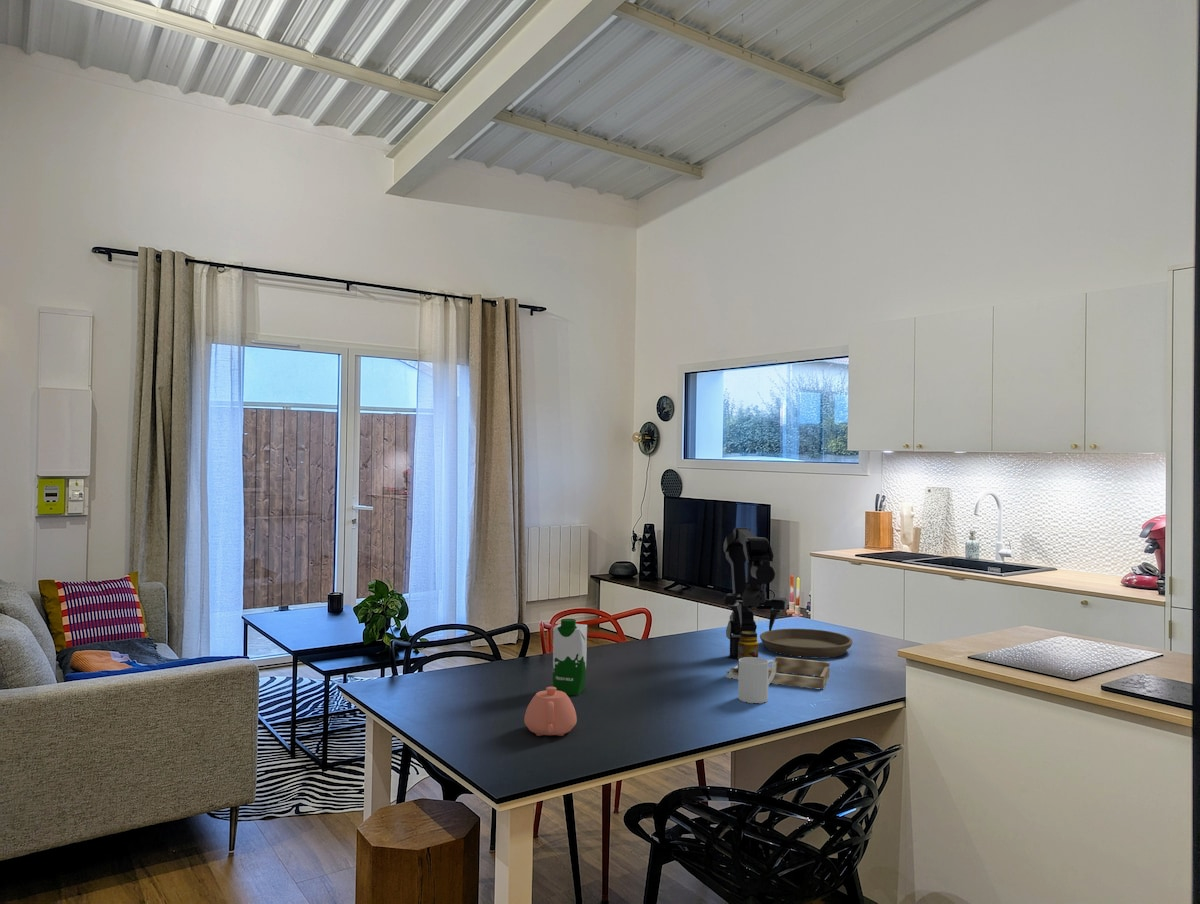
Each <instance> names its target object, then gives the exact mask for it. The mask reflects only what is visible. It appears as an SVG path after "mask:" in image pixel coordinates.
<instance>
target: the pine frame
mask: <svg viewBox="0 0 1200 904" xmlns="http://www.w3.org/2000/svg"><path fill="white" fill-rule="evenodd" d="M773 661H774V662H775V663H776V673H775V676H774V678H773V680H772V682H771V683H775V684H774V685H778V684H782V685H781V686H786V685H791V686H790V687H795V686H800V687H799V688H803V687H810V688H809V689H812V688H820V689H823V688H824V689H825V687H826V685H827V683H828V681H829V679H830V664H831V663H830V661H829V662H828V661H819V660H814V659H804V658H793V657H784V656H775V657H774V660H773ZM771 672H772V664H771V665H770V666H769V667H768V679H769V677H770V675H771ZM779 672H784V673H779ZM788 673H794V674H788ZM797 674H805V675H797ZM806 675H815V676H820V677H815V676H806ZM828 678H829V679H828ZM827 680H828V681H827ZM826 682H827V683H826ZM825 684H826V685H825ZM824 686H825V687H824ZM820 689H819V690H820ZM824 689H823V690H824Z"/></svg>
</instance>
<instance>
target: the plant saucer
mask: <svg viewBox="0 0 1200 904" xmlns="http://www.w3.org/2000/svg"><path fill="white" fill-rule="evenodd" d="M759 638H760V641H761V642H762V644H763V645H765V646H766V648H767V650H769V649H770V650H769V651H771V650H772V651H771V652H773V651H774V652H773V653H775V652H777V653H776V654H779V653H781V654H780V655H783V654H786V655H785V656H788V655H792V656H791V657H794V656H801V657H800V658H803V657H830V658H835V657H834V656H836V657H840V656H843V655H844V654H846V652H847V651H848V650H849V649H850V648H851V647H852V645H853V644H854V643H853V639H852V638H851V637H850V636H848V635H845V634H842V633H839V632H835V631H829V630H823V629H813V628H778V629H771V631H769V630H767V631H766V630H765V631H764V632H762V633H760V635H759ZM839 655H840V656H839Z"/></svg>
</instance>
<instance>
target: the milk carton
mask: <svg viewBox="0 0 1200 904" xmlns="http://www.w3.org/2000/svg"><path fill="white" fill-rule="evenodd" d="M552 630H553V631H552V634H553V637H552V639H553V642H552V645H553V646H552V687H556V690H558V691H562V692H565V693H566V694H567V696H576V697H577V696H579V695H580V694H581V693H582V692H584V690H586V680H587V654H588V653H587V648H588V645H587V644H588V643H587V640H588V636H587V635H588V624H584V623H583V624H581V623H577V620H576V619H575V618H562V619H560V623H558V624H557V625H555V626H554V627H552Z"/></svg>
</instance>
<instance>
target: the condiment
mask: <svg viewBox="0 0 1200 904" xmlns="http://www.w3.org/2000/svg"><path fill="white" fill-rule="evenodd" d="M739 638H740V640H739V642H738V659H737V666H738V668H735V667H728V670H729V672H732V673H733V674H734V675H739V659H740V658H745V657H756V658H759V641H758V633H757V631H756V632H753V631H742V632H740V637H739Z"/></svg>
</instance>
